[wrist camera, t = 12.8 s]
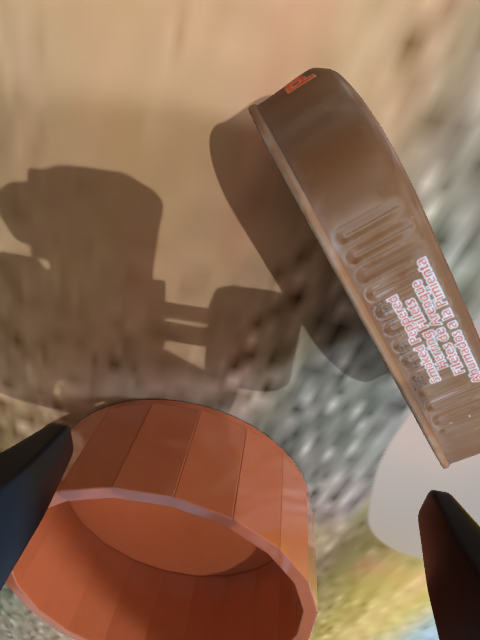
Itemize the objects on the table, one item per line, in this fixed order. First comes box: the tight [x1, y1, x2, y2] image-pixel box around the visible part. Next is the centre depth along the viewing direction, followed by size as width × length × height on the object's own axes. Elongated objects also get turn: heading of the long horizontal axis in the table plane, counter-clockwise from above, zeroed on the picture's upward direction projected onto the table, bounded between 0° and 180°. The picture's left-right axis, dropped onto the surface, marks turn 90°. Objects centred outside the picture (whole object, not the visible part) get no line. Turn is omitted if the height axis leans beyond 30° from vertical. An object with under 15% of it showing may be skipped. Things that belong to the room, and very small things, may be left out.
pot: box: [6, 399, 318, 640], centre depth 25 cm, size 19×19×6 cm
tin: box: [249, 68, 480, 469], centre depth 14 cm, size 15×3×8 cm, turn 32°
